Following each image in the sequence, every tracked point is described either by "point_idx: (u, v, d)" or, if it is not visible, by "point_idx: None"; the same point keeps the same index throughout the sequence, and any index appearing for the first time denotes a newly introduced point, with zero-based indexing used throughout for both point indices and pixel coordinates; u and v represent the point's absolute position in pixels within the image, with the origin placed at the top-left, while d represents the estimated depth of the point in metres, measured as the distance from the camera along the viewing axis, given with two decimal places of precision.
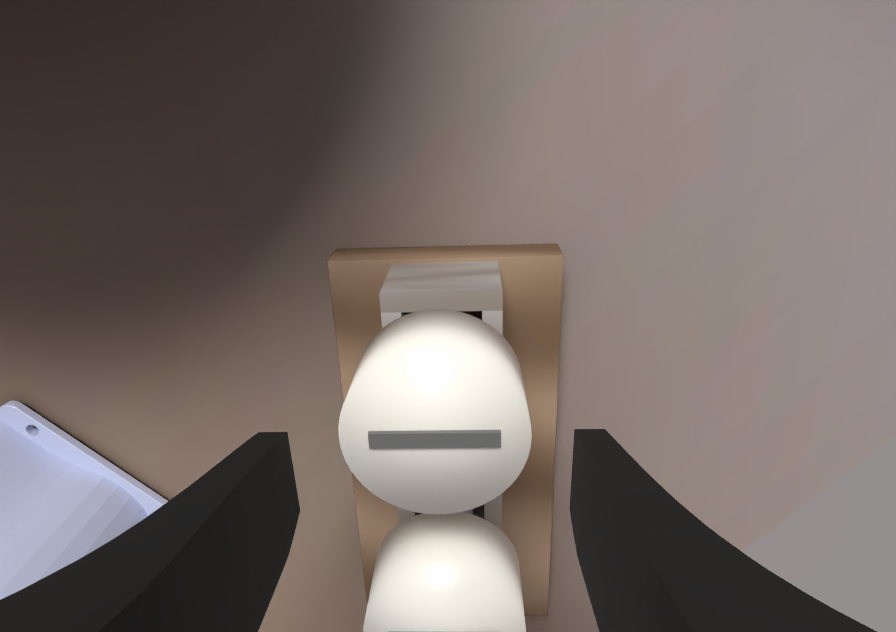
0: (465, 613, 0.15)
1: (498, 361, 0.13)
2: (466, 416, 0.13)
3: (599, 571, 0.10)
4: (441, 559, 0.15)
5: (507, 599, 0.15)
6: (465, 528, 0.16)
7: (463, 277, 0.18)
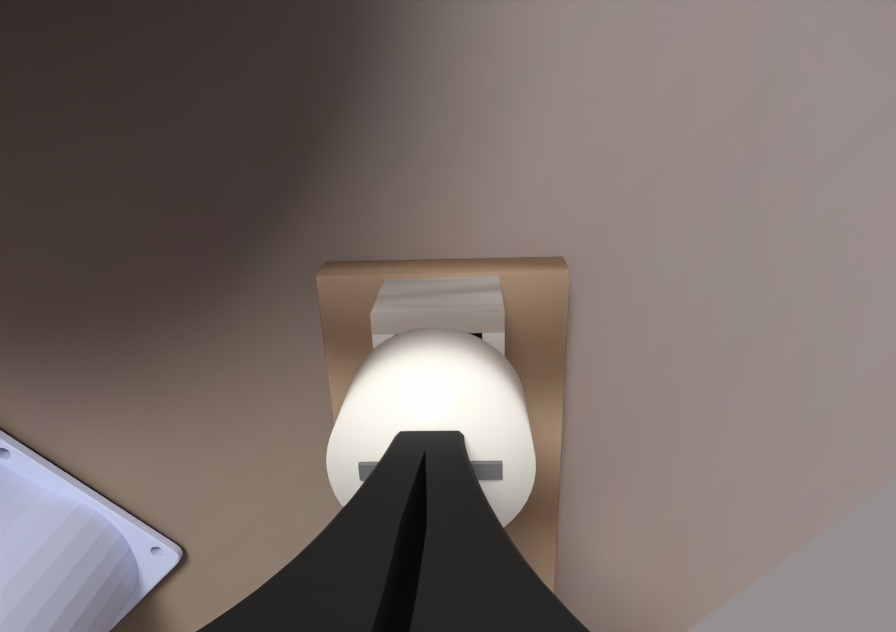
0: None
1: (499, 387, 0.12)
2: None
3: None
4: None
5: None
6: None
7: (461, 295, 0.17)
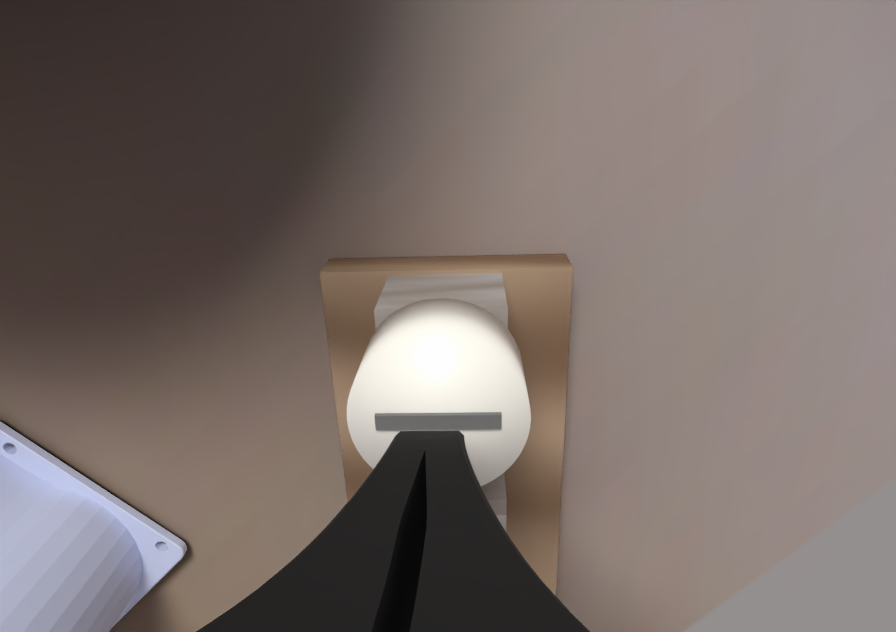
0: None
1: (498, 347, 0.14)
2: (468, 398, 0.14)
3: None
4: None
5: None
6: None
7: (465, 291, 0.17)
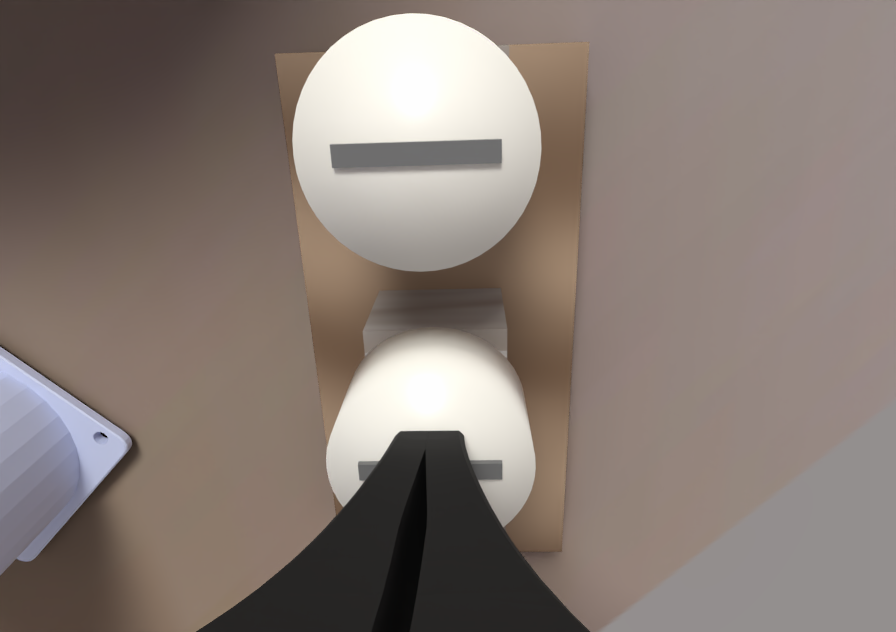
0: None
1: None
2: (456, 117, 0.10)
3: None
4: (426, 364, 0.12)
5: (512, 410, 0.12)
6: (457, 341, 0.13)
7: None
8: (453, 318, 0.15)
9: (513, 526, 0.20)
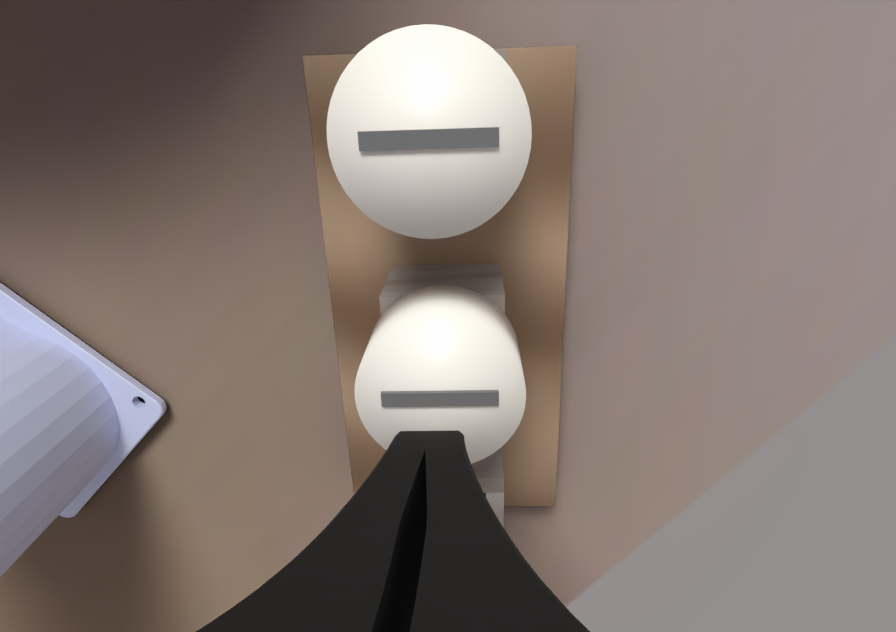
0: (461, 366, 0.14)
1: None
2: (462, 109, 0.12)
3: None
4: (436, 310, 0.14)
5: (506, 347, 0.14)
6: (462, 295, 0.16)
7: None
8: None
9: (511, 482, 0.23)
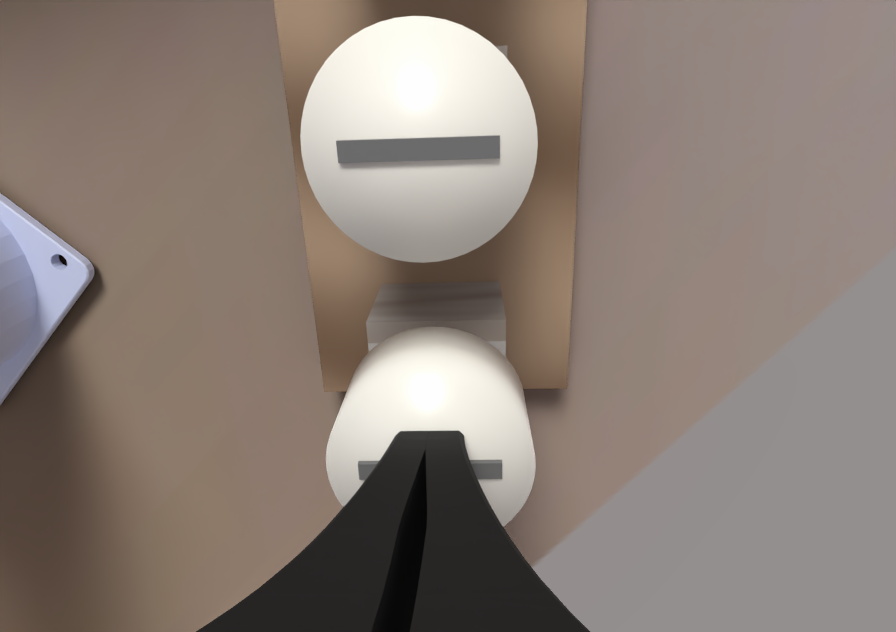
0: (448, 96, 0.10)
1: None
2: None
3: None
4: None
5: (510, 64, 0.10)
6: None
7: None
8: None
9: (514, 357, 0.18)
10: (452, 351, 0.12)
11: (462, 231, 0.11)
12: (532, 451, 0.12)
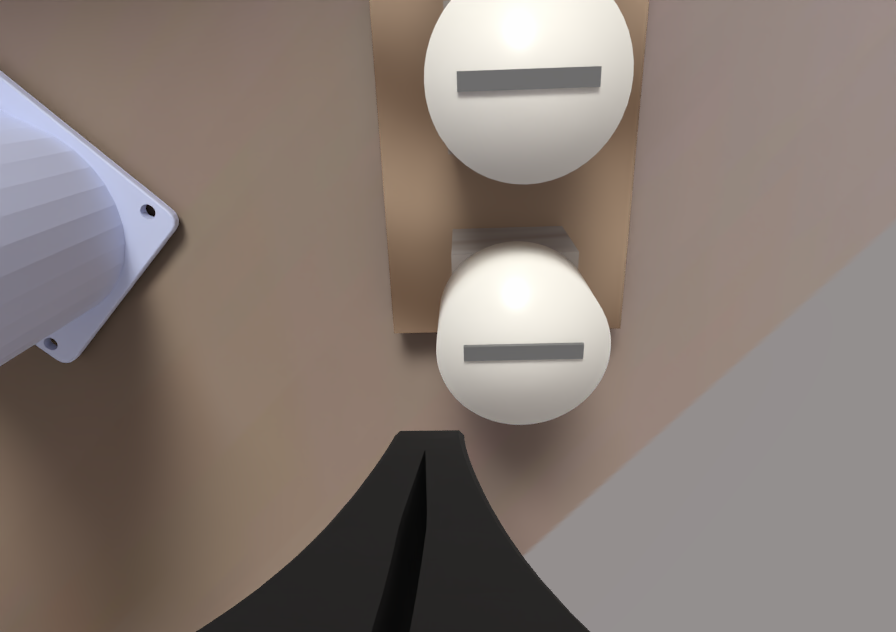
0: (557, 31, 0.12)
1: None
2: None
3: None
4: None
5: (614, 1, 0.12)
6: None
7: None
8: None
9: None
10: (539, 255, 0.15)
11: (562, 155, 0.13)
12: (608, 334, 0.14)
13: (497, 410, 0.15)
